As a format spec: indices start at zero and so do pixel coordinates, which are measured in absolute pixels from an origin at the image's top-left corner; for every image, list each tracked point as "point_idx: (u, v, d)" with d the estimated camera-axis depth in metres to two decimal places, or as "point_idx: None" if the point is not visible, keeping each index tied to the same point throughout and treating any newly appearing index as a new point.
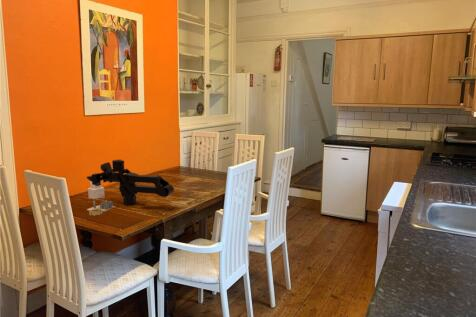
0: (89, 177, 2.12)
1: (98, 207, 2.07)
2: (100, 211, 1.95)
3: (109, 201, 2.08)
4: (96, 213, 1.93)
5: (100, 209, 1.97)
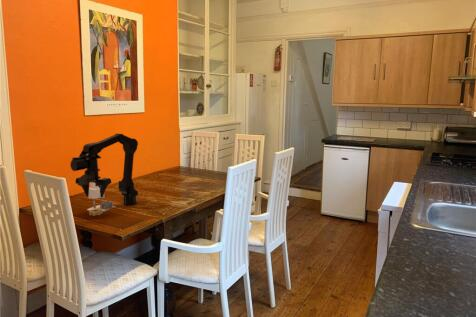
0: (102, 192, 1.91)
1: (98, 207, 2.07)
2: (100, 211, 1.95)
3: (109, 201, 2.08)
4: (96, 213, 1.93)
5: (100, 209, 1.97)
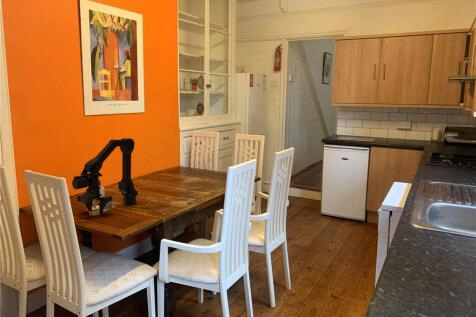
0: (101, 210, 1.93)
1: (98, 207, 2.07)
2: None
3: None
4: (96, 213, 1.93)
5: None
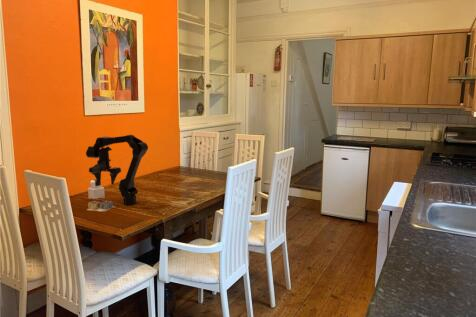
0: (113, 180, 2.14)
1: None
2: (98, 203, 2.06)
3: (109, 201, 2.08)
4: (95, 205, 2.03)
5: (98, 201, 2.07)
